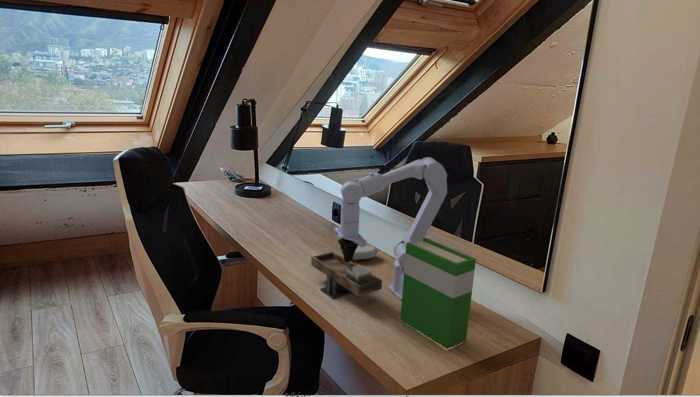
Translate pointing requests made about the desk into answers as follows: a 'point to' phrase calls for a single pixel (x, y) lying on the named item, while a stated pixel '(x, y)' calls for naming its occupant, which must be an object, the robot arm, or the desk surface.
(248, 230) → the desk surface
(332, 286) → the pivot stand
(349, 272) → the block
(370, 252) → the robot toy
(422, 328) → the hardback book
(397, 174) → the robot arm
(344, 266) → the wooden rimmed tray
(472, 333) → the desk surface
